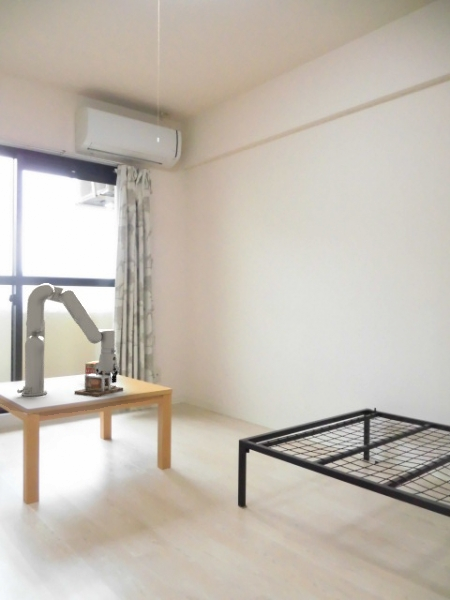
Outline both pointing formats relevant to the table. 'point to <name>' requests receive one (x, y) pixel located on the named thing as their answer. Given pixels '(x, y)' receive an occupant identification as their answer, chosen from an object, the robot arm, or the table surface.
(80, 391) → the track board
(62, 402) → the table surface
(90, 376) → the tunnel
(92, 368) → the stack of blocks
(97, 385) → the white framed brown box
